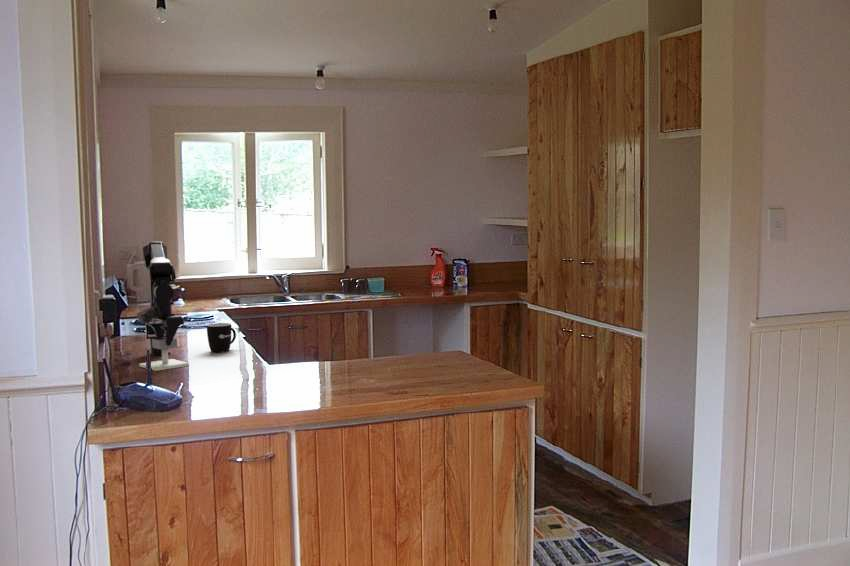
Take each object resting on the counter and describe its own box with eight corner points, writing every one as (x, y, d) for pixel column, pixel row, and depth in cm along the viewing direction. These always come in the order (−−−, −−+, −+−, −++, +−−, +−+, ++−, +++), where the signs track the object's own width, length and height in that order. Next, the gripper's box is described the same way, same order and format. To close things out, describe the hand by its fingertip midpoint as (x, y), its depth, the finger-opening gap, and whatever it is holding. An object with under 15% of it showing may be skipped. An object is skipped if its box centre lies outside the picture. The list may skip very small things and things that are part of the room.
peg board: (139, 366, 280) (138, 346, 279) (172, 361, 288) (171, 341, 287) (155, 370, 271) (154, 350, 270) (188, 365, 279) (187, 345, 279)
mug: (218, 354, 302) (216, 326, 301) (202, 352, 307) (201, 325, 307) (243, 349, 312) (242, 323, 311) (228, 347, 317) (227, 321, 316)
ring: (152, 347, 278) (152, 338, 278) (169, 345, 283) (168, 336, 282) (160, 349, 274) (160, 340, 274) (177, 347, 278) (176, 338, 278)
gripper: (127, 299, 278) (129, 344, 279) (151, 302, 265) (154, 350, 266) (158, 296, 286) (160, 340, 287) (183, 299, 272) (186, 346, 274)
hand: (164, 344), depth 278 cm, fingers closed on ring, 6 cm apart
